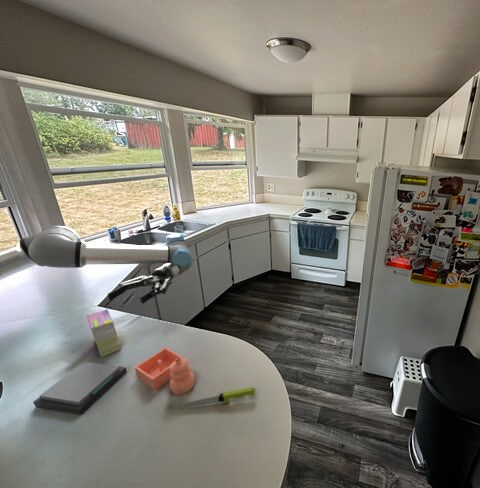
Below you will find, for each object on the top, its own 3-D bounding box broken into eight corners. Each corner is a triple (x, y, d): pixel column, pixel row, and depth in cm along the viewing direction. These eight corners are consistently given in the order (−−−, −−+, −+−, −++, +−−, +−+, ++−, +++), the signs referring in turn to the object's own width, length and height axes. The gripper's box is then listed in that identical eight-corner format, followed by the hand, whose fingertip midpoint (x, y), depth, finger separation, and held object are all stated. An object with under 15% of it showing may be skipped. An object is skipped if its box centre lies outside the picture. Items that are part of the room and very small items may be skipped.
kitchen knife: (171, 415, 68) (169, 407, 67) (173, 410, 69) (170, 403, 68) (255, 397, 72) (254, 390, 71) (255, 393, 73) (254, 386, 72)
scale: (35, 407, 67) (31, 398, 66) (88, 366, 80) (85, 358, 79) (81, 414, 66) (77, 406, 65) (127, 372, 79) (124, 364, 78)
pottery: (137, 377, 77) (130, 352, 74) (167, 357, 85) (162, 333, 82) (174, 403, 70) (168, 377, 66) (204, 378, 78) (199, 353, 74)
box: (95, 342, 90) (86, 315, 86) (115, 335, 94) (107, 308, 90) (100, 358, 84) (90, 329, 80) (121, 349, 88) (113, 321, 84)
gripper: (192, 283, 114) (157, 310, 94) (142, 278, 117) (98, 304, 97) (189, 268, 112) (153, 293, 92) (139, 264, 114) (93, 287, 94)
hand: (125, 298), depth 94 cm, fingers open, 13 cm apart
